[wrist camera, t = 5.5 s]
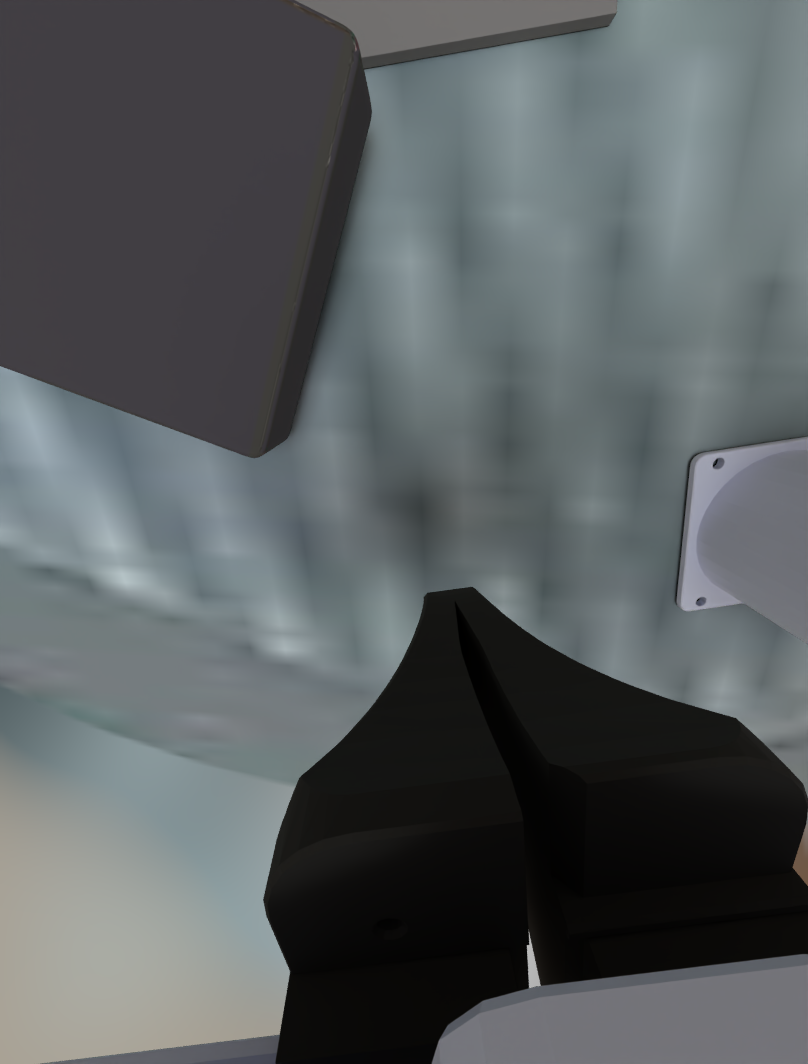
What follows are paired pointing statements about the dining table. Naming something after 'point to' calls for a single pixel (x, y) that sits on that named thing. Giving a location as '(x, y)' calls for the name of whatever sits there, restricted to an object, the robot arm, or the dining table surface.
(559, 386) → the dining table surface
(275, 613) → the dining table surface
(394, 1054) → the robot arm
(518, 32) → the mat
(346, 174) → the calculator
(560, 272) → the dining table surface
